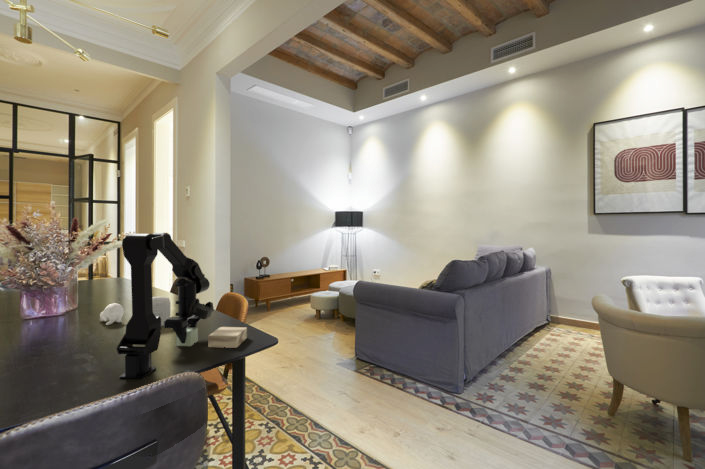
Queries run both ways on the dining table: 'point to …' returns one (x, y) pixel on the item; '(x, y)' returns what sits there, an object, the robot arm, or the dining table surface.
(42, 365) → the dining table surface
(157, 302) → the photo printer
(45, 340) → the dining table surface
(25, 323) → the dining table surface
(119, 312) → the white animal figurine
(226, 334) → the oak block
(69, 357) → the dining table surface
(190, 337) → the sage cube
